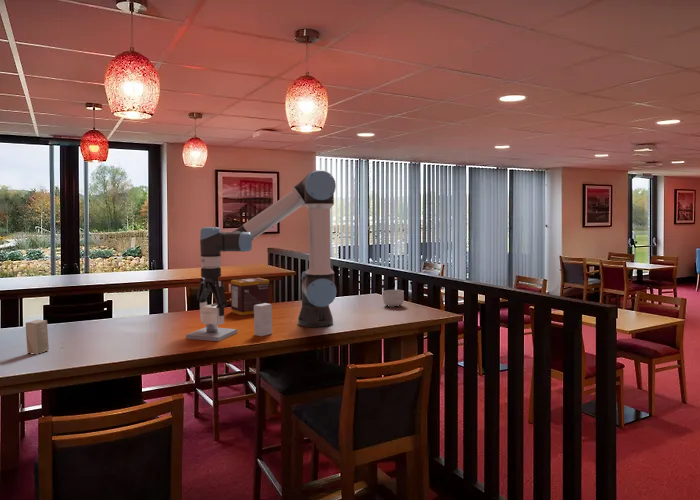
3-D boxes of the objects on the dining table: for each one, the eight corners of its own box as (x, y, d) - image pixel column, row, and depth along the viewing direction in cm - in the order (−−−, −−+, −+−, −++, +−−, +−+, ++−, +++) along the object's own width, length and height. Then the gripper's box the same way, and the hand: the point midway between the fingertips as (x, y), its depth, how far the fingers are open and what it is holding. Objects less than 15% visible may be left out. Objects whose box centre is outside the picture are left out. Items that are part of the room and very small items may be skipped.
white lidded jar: (216, 324, 198) (216, 307, 198) (197, 323, 200) (197, 306, 199) (226, 320, 206) (225, 303, 205) (207, 319, 208) (207, 302, 207)
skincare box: (265, 332, 209) (265, 302, 208) (272, 333, 207) (272, 304, 206) (253, 334, 205) (253, 304, 204) (260, 336, 202) (260, 306, 201)
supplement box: (270, 311, 251) (269, 279, 250) (241, 315, 242) (240, 282, 240) (259, 308, 259) (258, 277, 258) (230, 312, 249) (230, 280, 248)
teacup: (397, 309, 258) (397, 293, 257) (378, 306, 264) (378, 291, 263) (410, 304, 269) (410, 289, 269) (391, 302, 275) (391, 287, 275)
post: (220, 331, 205) (219, 310, 204) (214, 333, 200) (213, 313, 200) (210, 330, 206) (209, 310, 205) (204, 332, 202) (203, 312, 201)
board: (237, 332, 208) (237, 329, 208) (218, 341, 195) (218, 337, 194) (206, 330, 212) (206, 326, 212) (186, 338, 199) (186, 334, 198)
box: (39, 350, 182) (38, 319, 181) (49, 351, 181) (48, 319, 180) (26, 354, 177) (24, 322, 176) (36, 355, 176) (34, 323, 175)
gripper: (187, 265, 208) (188, 317, 209) (217, 270, 189) (219, 328, 191) (204, 263, 213) (205, 315, 214) (236, 269, 195) (237, 325, 196)
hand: (211, 321), depth 203 cm, fingers open, 13 cm apart
